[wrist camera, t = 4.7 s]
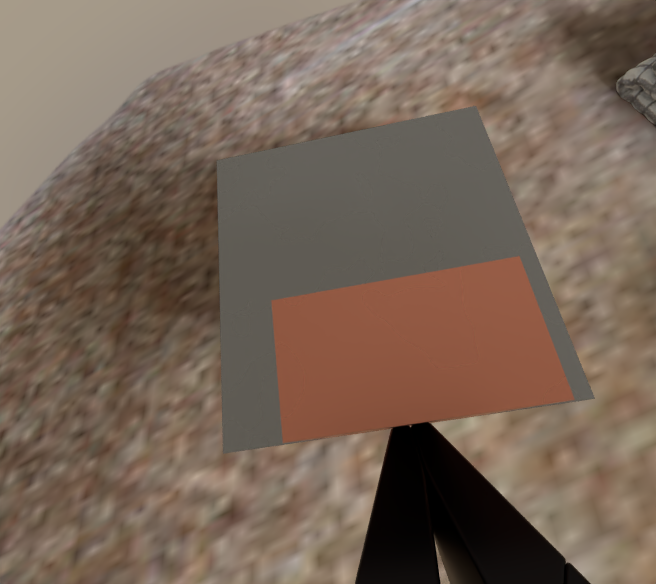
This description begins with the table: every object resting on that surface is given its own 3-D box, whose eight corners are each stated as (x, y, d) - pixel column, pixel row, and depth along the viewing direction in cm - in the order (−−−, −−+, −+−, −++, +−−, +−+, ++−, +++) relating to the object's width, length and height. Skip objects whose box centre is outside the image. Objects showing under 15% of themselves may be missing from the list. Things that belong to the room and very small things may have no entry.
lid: (580, 400, 11) (833, 360, 5) (232, 451, 12) (73, 474, 6) (471, 121, 16) (531, -84, 10) (223, 172, 17) (129, 15, 10)
